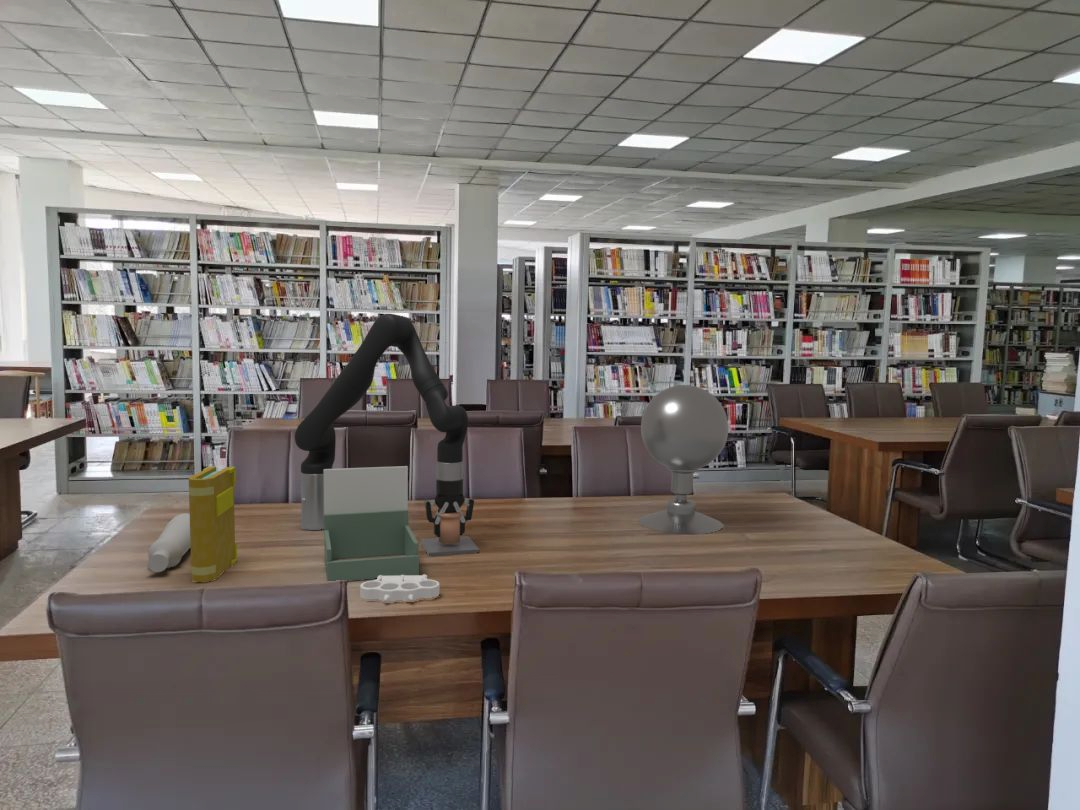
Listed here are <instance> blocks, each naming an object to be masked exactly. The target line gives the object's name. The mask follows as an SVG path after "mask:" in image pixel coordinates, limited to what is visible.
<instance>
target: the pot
mask: <svg viewBox="0 0 1080 810" xmlns="http://www.w3.org/2000/svg"><path fill="white" fill-rule="evenodd" d="M460 517H461V513H457V512H456V513H444V514H440V522H439V524H440V537H438V538H439V542H441V543H446V544H452V543H457V542H459V541H460Z"/></svg>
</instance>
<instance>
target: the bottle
mask: <svg viewBox="0 0 1080 810" xmlns="http://www.w3.org/2000/svg"><path fill="white" fill-rule="evenodd" d="M189 549H191V545H190V513H180V514H177V515H175V516H173V518H172V519H171V520H170V521H169V522H168V523H167V524H165V528H164V529H163V530H162V532H161V534H160V535H159V536H158V538H157V540H155V541H154V542H153V543H152V544H150V547H149V549H148V552H147V553H148V560H147V567H148V569H149V570H150V571H152V572H154V573H161V572H163V571H165V570H167V569H171V568H170V567H172V568H174V567H176V566H178V564H179V563H180V562H181V561H182V557H183V556H184V555H185V554H186V553H187V552H188V551H189ZM166 568H167V569H166Z"/></svg>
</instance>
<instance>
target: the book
mask: <svg viewBox="0 0 1080 810" xmlns="http://www.w3.org/2000/svg"><path fill="white" fill-rule="evenodd" d="M236 483H237V482H236V466H227V467H225V468H223V469H221V470H217V466H207V467H205V468H203V469H202V470H201V471H199V472H197V473H196V474H194V475H192V476H190V477H188V500H189V501H188V502H189V505H188V508H189V514H190V545H191V547H190V572H191V573H190V576H191V579H192V580H193V581H196V582H208V583H210V582H209V581H212V582H214V581H213V580H214V579H217V578H218V576H220V574H221V573H222V572H223V571H225V570H226V569H227V568H228V567H229V566H230V565H233V564H234V563H235V562H236V561H237V562H238V543H236V531H235V526H236V525H235V523H236V522H235V518H236V517H235V486H236ZM237 562H236V563H237ZM236 563H235V564H236ZM235 564H234V565H235ZM234 565H233V566H234ZM230 567H231V566H230ZM230 567H229V568H230ZM229 568H228V569H229ZM228 569H227V570H228ZM227 570H226V571H227ZM226 571H225V572H226ZM220 577H221V576H220ZM191 579H190V580H191ZM218 579H219V578H218ZM218 579H217V580H218ZM192 580H191V581H192Z"/></svg>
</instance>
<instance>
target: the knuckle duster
mask: <svg viewBox="0 0 1080 810" xmlns="http://www.w3.org/2000/svg"><path fill="white" fill-rule="evenodd" d="M440 585H441V584H440V582H439V581H437V580H434V579H430V578H429V579H428V575H426V573H424V574H422V575H421V574H419V575H400V576H382V575H379V576H378V577H377V579H372V580H366V581H365V582H362V583H360V585H359V593H360V594H359V598H360V597H361V598H364V599H379V600H382V601H396V600H403V601H412V600H416V599H419V598H432V597H436V596H438V595H439V594H440V595H441V593H440V592H441V591H440V590H441V587H440Z"/></svg>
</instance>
